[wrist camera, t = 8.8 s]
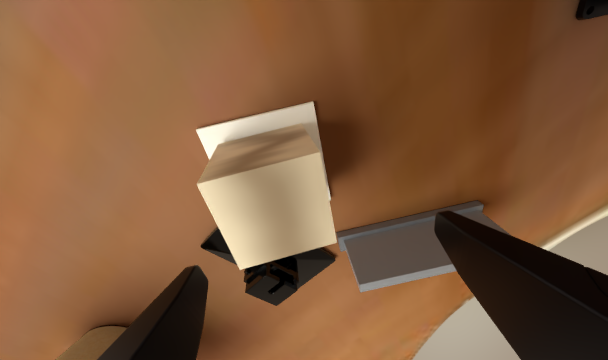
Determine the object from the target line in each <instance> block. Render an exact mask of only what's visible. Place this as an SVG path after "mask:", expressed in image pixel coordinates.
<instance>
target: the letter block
mask: <svg viewBox="0 0 608 360" xmlns="http://www.w3.org/2000/svg"><path fill="white" fill-rule="evenodd" d="M197 186H198V188H199V190H200V192H201V194H202V196H203V198H204V200H205V202H206V204H207V206H208V208H209V210H210V212H211V214H212V216H213V218H214V220H215V222H216V224H217V226H218V228H219V229H220V231H221V233H222V235H223V237H224V239H225V241H226V243H227V245H228V247H229V249H230V251H231V253H232V255H233V257H234V259H235V261H236V263H237V265H238V267H239V269H240V270H242V269H245V268H249V267H252V266H256V265H259V264H263V263H266V262H270V261H273V260H277V259H281V258H284V257H288V256H291V255H295V254H298V253H302V252H305V251H309V250H312V249H316V248H320V247H323V246H327V245H330V244H334V243H337V240H336V235H335V229H334V224H333V218H332V213H331V208H330V202H329V197H328V192H327V186H326V181H325V175H324V170H323V165H322V159H321V154H320V151H319V149H318V148H317V146H316V145H315V143H314V142H313V140H312V139H311V137H310V136H309V134H308V133H307V131H306V130H305V128H304V127H303V125H302V124H301V123H300V124H296V125H292V126H288V127H284V128H280V129H276V130H272V131H268V132H264V133H260V134H256V135H252V136H248V137H245V138H241V139H237V140H233V141H229V142H225V143H221V144H218V145H217V147H216V149H215V151H214V153H213V155H212V156H211V158H210V160H209V162H208V164H207V166H206V168H205V169H204V171H203V173H202V175H201V177H200V179H199V181H198V182H197Z"/></svg>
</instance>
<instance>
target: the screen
mask: <svg viewBox="0 0 608 360" xmlns="http://www.w3.org/2000/svg"><path fill="white" fill-rule="evenodd" d="M483 206H484V205H483V204H482V203H481V202H479V201H478V200H477V201H473V202H468V203H464V204H460V205H455V206H451V207H446V208H442V209H438V210H433V211H429V212H424V213H420V214H416V215H411V216H407V217H403V218H398V219H394V220H389V221H385V222H381V223H376V224H372V225H367V226H363V227H359V228H354V229H350V230H345V231H341V232H337V238H338V243H339V248H340V251H345V250H346V252H347V255H348V258H349V261H350V264H351V267H352V269H353V272H354V275H355V278H356V281H357V284H358V287H359V290H360V292H364V291H368V290H373V289H377V288H382V287H386V286H391V285H395V284H400V283H404V282H409V281H413V280H418V279H422V278H427V277H431V276H436V275H440V274H445V273H449V272H453V271H456V269H455V267H454V266H453V264H452V262H451V260H450V259H449V257H448V255H447V254H446V252H445V250H444V248H443V247H442V245H441V243H440V242H439V240H438V238H437V236H436V234H435V232H434V225H435V215H436V213H437V212H440V211H445V210H450V211H452V212H455V213H457V214H460V215H462V216H465V217H467V218H469V219H472V220H474V221H477V222H479V223H482V224H484V225H486V226H489V227H491V228H494V229H496V230H499V231H501V232H503V233H506V234H508V235H510V234H509V233H507V232H506V231H505V230H503V229H502V228H501V227H500V226H498V225H497V224H496V223H494V222H493V221H492V220H491V219H489V218H488V217H487V216H485V215H484V214H483V213H482V210H483Z"/></svg>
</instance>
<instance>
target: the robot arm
mask: <svg viewBox="0 0 608 360" xmlns="http://www.w3.org/2000/svg"><path fill="white" fill-rule="evenodd" d="M607 14H608V0H580V3H579V7H578V10H577V13H576V18H577V19H578V20H583V19H590V18H594V17H598V16H602V15H607ZM434 232H435V234H436V236H437V238H438V240H439V242H440V243H441V245H442V247H443V248H444V250H445V252H446V254H447V255H448V257H449V259H450V260H451V262H452V264H453V266H454V267H455V269H456V271H457V272H458V274H459V275H460V277H461V278H462V279H463V281H464V282H465V284H466V285H467V286H468V288H469V289H470V290H471V292H472V293H473V295H474V296H475V297H476V299H477V300H478V301H479V303H480V304H481V306H482V307H483V308H484V310H485V311H486V312H487V314H488V315H489V317H490V318H491V319H492V321H493V322H494V323H495V325H496V326H497V327H498V329H499V330H500V332H501V333H502V334H503V335H504V337H505V338H506V340H507V341H508V343H509V344H510V345H511V347H512V348H513V349H514V351H515V352H516V353H517V355H518V356H519V358H520V359H521V360H608V275H606V274H603V273H601V272H598V271H596V270H593V269H591V268H588V267H584V266H583V265H581V264H579V263H576V262H574V261H571V260H569V259H567V258H564V257H561V256H559V255H557V254H554V253H552V252H550V251H547V250H545V249H542V248H540V247H537V246H535V245H533V244H530V243H528V242H525V241H523V240H520V239H518V238H516V237H513V236H511V235H508V234H506V233H503V232H501V231H499V230H496V229H494V228H491V227H489V226H486V225H484V224H482V223H479V222H477V221H474V220H472V219H469V218H467V217H465V216H462V215H460V214H457V213H455V212H452V211H450V210H445V211H440V212H437V213H436V215H435V225H434ZM207 291H208V279H207V277H206V276H205V274H204V273H203V271H202V270H201V268H200V267H199V266H198V265H194V266H190V267H186V268H185V269H184V270H183V271H182V272H181V273H180V274H179V275H178V276H177V277H176V278H175V279H174V280H173V281H172V282H171V283H170V285H169V286H168V287H167V288H166V289H165V290H164V291H163V292H162V293H161V294H160V295H159V296H158V297H157V298H156V299H155V300H154V301H153V302H152V303H151V304H150V305H149V306H148V307H147V308H146V309H145V310H144V311H143V312H142V313H141V314H140V315H139V316H138V318H137V319H136V320H135V321H134V322H133V323H132V324H131V325H130V326H129V327H128V328H127V329H126V330H125V331H124V332H123V333H122V334H121V335H120V336H119V337H118V338H117V339H116V340H115V341H114V342H113V343H112V344H111V345H110V346H109V347H108V348H107V349H106V350H105V352H104V353H103V354H102V355H101V356H100V357H99V358H98V359H97V360H196V357H197V353H198V348H199V343H200V339H201V334H202V329H203V324H204V316H205V308H206V299H207Z"/></svg>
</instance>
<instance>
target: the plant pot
mask: <svg viewBox="0 0 608 360" xmlns="http://www.w3.org/2000/svg"><path fill="white" fill-rule="evenodd" d="M126 329H127V328H126V327H120V326H106V327H99V328H95V329H93V330H90V331H89V332H87V333H86V334H85V335H84V336H82V337H81V338H80V339H79V340H78V341H76V342H75V343H74V344H73V345H72V346H71V347H69V348H68V349H67V350H66V351H65V352H64V353H63V354H61V355H60V356H59V357H58V358H57V359H56V360H97V359H98V358H99V357H100V356H101V355H102V354H103V353H104V352H105V350H106V349H107V348H108V347H109V346H110V345H111V344H112V343H113V342H114V341H115V340H116V339H117V338H118V337H119V336H120V335H121V334H122V333H123V332H124V331H125V330H126Z"/></svg>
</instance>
